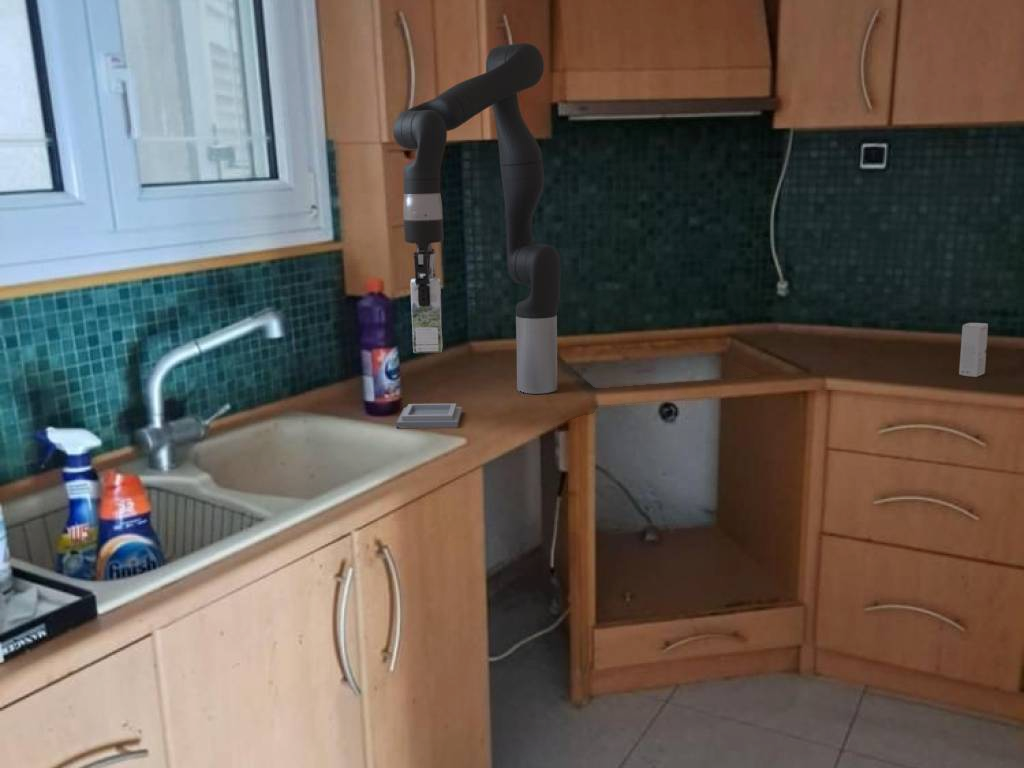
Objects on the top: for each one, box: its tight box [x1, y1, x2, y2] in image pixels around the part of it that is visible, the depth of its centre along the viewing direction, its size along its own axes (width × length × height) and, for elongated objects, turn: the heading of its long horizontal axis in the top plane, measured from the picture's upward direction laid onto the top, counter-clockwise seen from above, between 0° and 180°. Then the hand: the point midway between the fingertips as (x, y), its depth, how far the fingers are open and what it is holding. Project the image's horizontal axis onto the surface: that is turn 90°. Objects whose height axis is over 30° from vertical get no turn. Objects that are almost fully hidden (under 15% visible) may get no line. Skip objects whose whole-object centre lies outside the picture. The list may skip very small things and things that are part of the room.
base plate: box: [395, 402, 463, 429], centre depth 190 cm, size 12×12×2 cm
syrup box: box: [410, 277, 444, 354], centre depth 185 cm, size 6×6×14 cm
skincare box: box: [958, 322, 989, 378], centre depth 222 cm, size 6×4×12 cm
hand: (426, 303), depth 185 cm, fingers closed on syrup box, 6 cm apart
